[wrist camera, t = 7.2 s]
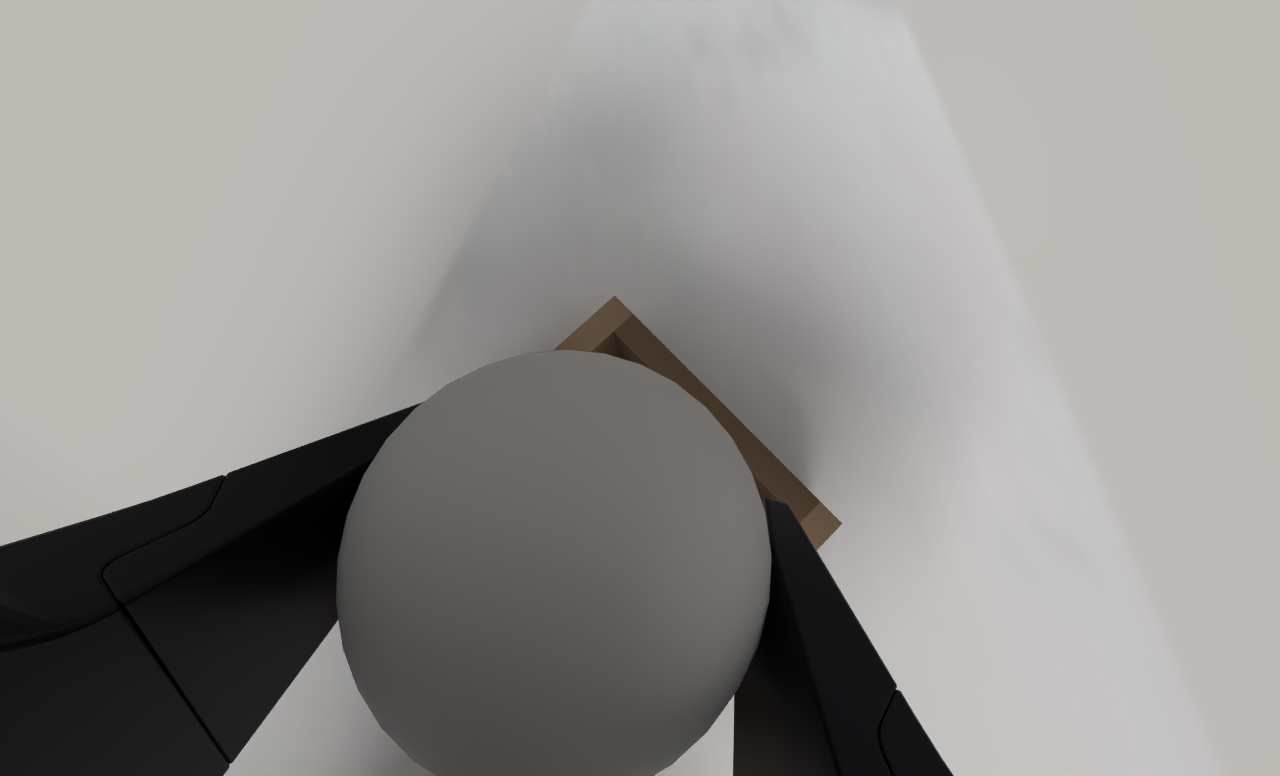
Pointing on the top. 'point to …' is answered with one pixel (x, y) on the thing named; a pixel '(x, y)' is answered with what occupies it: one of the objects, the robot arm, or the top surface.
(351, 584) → the lightbulb
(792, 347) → the top surface
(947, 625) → the top surface
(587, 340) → the frame
